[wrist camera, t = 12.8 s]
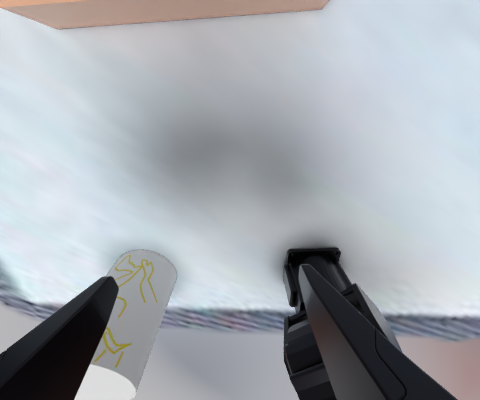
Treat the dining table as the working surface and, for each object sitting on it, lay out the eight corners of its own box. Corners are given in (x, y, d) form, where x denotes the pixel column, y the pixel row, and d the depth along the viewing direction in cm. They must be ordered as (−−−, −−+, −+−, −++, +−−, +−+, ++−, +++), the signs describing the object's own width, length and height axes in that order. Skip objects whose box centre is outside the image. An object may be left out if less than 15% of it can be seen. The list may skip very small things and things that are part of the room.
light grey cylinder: (172, 250, 25) (123, 362, 14) (179, 293, 29) (144, 406, 18) (109, 249, 25) (11, 360, 14) (124, 291, 29) (55, 405, 18)
